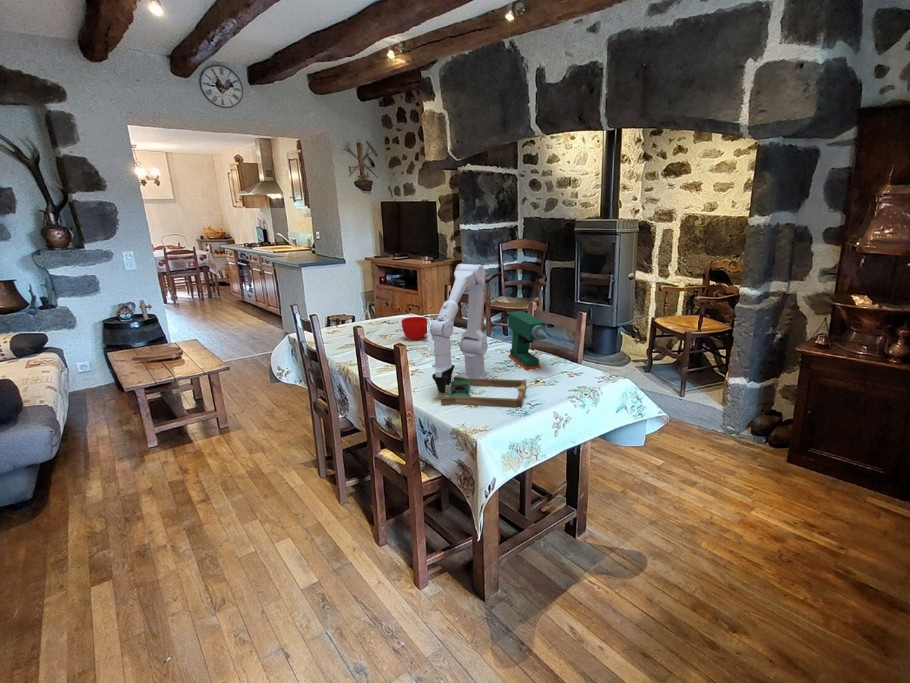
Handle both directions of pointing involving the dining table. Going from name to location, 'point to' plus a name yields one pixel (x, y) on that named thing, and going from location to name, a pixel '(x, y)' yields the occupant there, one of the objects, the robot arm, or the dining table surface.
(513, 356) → the power tool
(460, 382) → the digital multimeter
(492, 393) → the dining table surface
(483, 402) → the pocket
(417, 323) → the ceramic cup
